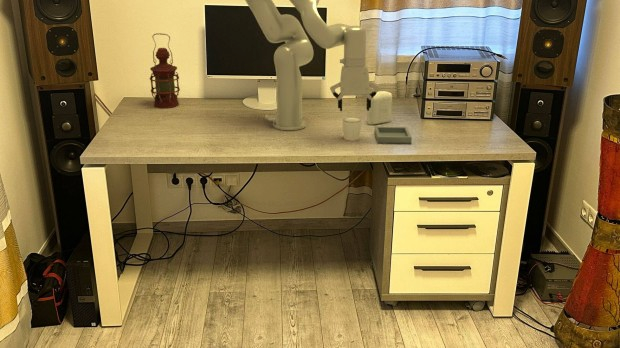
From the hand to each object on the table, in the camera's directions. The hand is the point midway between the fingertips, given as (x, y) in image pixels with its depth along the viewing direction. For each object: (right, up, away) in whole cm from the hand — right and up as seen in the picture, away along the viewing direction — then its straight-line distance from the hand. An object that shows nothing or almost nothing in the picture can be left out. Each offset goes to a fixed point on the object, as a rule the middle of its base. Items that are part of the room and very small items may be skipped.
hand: (354, 109), depth 228 cm
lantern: (-77, +6, +42) cm, 88 cm away
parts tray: (+14, -10, +4) cm, 18 cm away
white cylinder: (-1, -10, +4) cm, 11 cm away
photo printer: (+11, -3, +23) cm, 25 cm away
